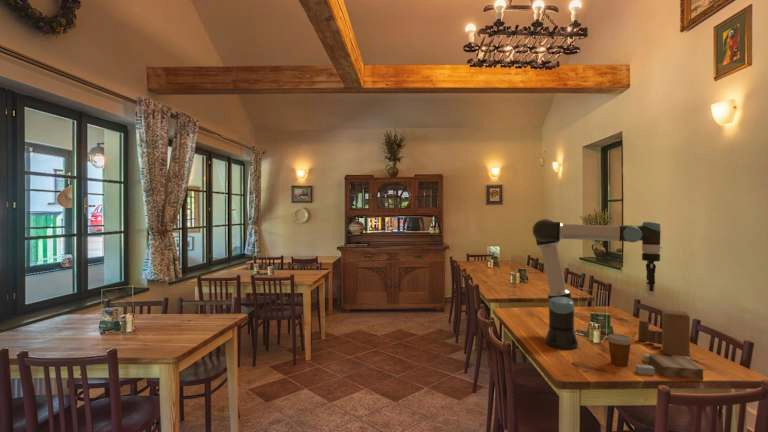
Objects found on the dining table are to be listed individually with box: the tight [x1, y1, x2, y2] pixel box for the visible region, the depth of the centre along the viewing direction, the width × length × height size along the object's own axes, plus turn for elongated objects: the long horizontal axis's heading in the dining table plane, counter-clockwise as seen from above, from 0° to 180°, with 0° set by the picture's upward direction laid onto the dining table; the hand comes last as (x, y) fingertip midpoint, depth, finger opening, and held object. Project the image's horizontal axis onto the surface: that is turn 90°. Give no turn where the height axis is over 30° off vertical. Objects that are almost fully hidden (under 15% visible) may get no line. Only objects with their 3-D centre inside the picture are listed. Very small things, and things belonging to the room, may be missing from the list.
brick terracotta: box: [672, 355, 692, 361], centre depth 177 cm, size 6×3×3 cm, turn 72°
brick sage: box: [642, 353, 651, 364], centre depth 179 cm, size 6×3×3 cm, turn 73°
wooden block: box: [661, 308, 691, 358], centre depth 189 cm, size 10×10×20 cm
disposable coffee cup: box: [606, 333, 633, 367], centre depth 177 cm, size 10×10×12 cm
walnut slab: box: [649, 354, 704, 380], centre depth 168 cm, size 14×14×4 cm
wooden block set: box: [637, 319, 662, 345], centre depth 207 cm, size 18×9×10 cm, turn 171°
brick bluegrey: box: [635, 364, 656, 376], centre depth 166 cm, size 6×3×3 cm, turn 78°
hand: (650, 295), depth 198 cm, fingers open, 13 cm apart
